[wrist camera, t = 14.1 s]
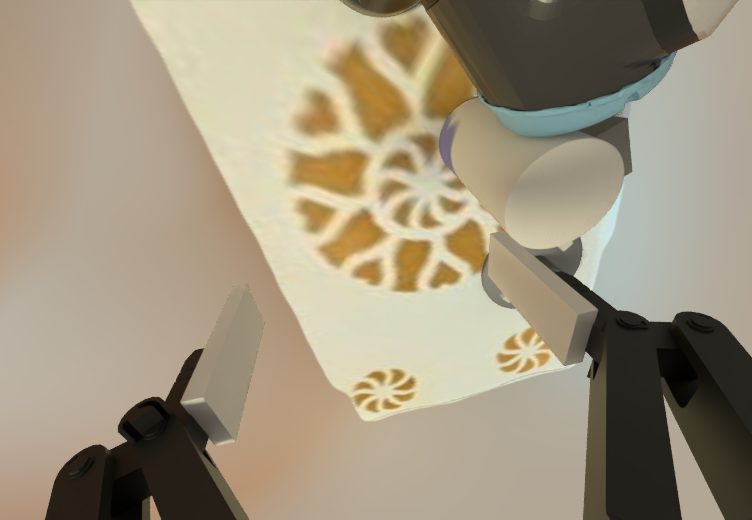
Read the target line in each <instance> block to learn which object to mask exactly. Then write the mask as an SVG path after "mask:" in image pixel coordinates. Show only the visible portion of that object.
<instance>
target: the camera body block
mask: <svg viewBox="0 0 752 520" xmlns="http://www.w3.org/2000/svg"><path fill="white" fill-rule="evenodd" d="M577 131H580V132H583V133H585V134H588V135H590V136H593V137H596V138H598V139H601V140H604V141H606V142H608V143H610V144H611V145H613V146H614V147H615V148H616V149H617V150H618V151H619V153H620V155H621V157H622V159H623V163H624V176H625V175H627V174H629V173H631V172H632V163H631V151H630V140H629V129H628V118H620V117H610V118H608V119H605V120H603V121H601V122H599V123H597V124H594V125H592V126H589V127H586V128H583V129H580V130H577Z"/></svg>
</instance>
